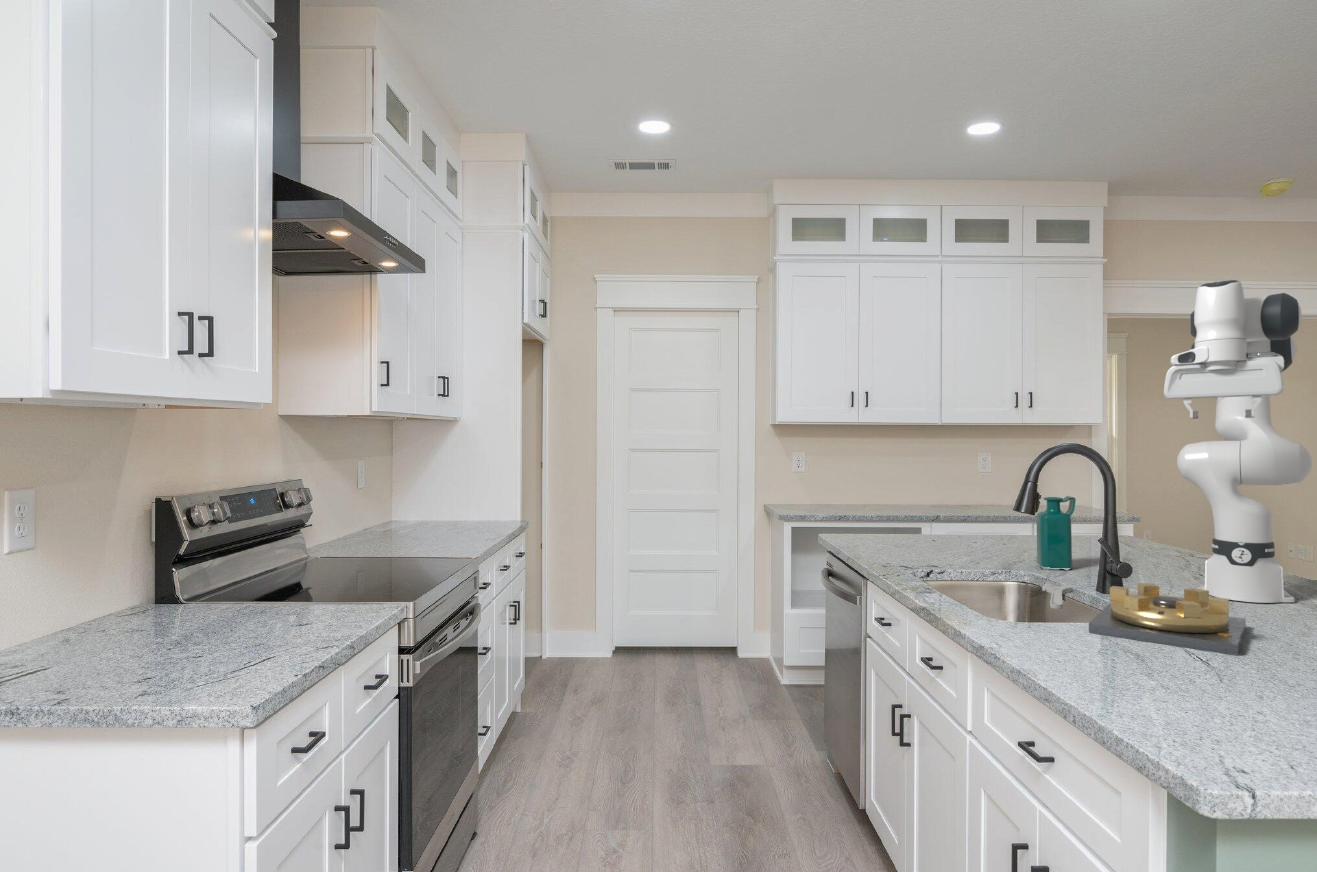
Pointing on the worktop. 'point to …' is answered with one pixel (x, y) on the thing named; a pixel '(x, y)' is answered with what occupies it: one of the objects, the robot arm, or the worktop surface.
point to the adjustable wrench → (1056, 594)
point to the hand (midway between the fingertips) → (1221, 418)
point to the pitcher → (1055, 534)
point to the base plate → (1172, 634)
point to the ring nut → (1170, 609)
